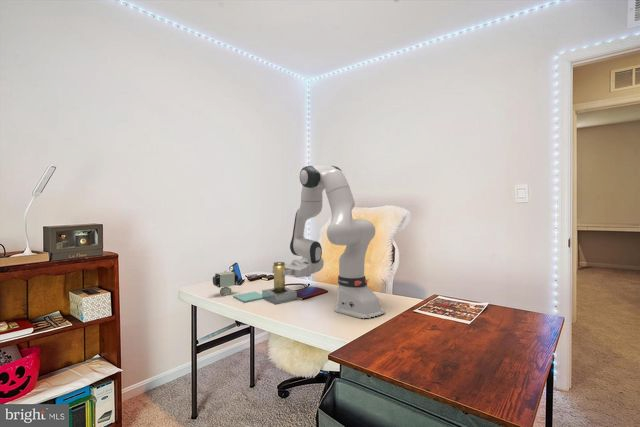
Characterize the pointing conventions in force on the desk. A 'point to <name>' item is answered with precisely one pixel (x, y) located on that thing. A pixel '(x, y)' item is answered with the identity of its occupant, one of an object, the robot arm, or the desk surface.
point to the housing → (279, 296)
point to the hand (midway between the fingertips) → (277, 272)
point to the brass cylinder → (279, 277)
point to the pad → (248, 297)
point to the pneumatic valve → (225, 281)
